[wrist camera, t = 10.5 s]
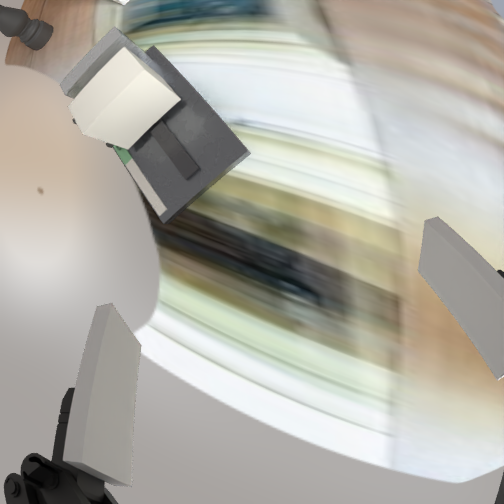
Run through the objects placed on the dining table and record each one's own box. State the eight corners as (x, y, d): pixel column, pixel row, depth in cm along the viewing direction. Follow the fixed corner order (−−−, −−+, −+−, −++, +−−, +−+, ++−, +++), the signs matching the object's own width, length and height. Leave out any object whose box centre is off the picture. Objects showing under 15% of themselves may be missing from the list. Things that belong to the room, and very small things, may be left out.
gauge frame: (95, 111, 38) (52, 93, 28) (158, 49, 35) (124, 18, 26) (169, 223, 37) (125, 224, 27) (251, 153, 34) (228, 130, 25)
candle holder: (45, 47, 39) (-41, 8, 15) (30, 52, 41) (-51, 18, 16) (57, 23, 39) (-23, -21, 14) (41, 29, 40) (-35, -9, 15)
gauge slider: (103, 134, 35) (58, 118, 26) (161, 76, 33) (124, 46, 24) (119, 159, 35) (72, 147, 26) (181, 99, 32) (144, 69, 24)
